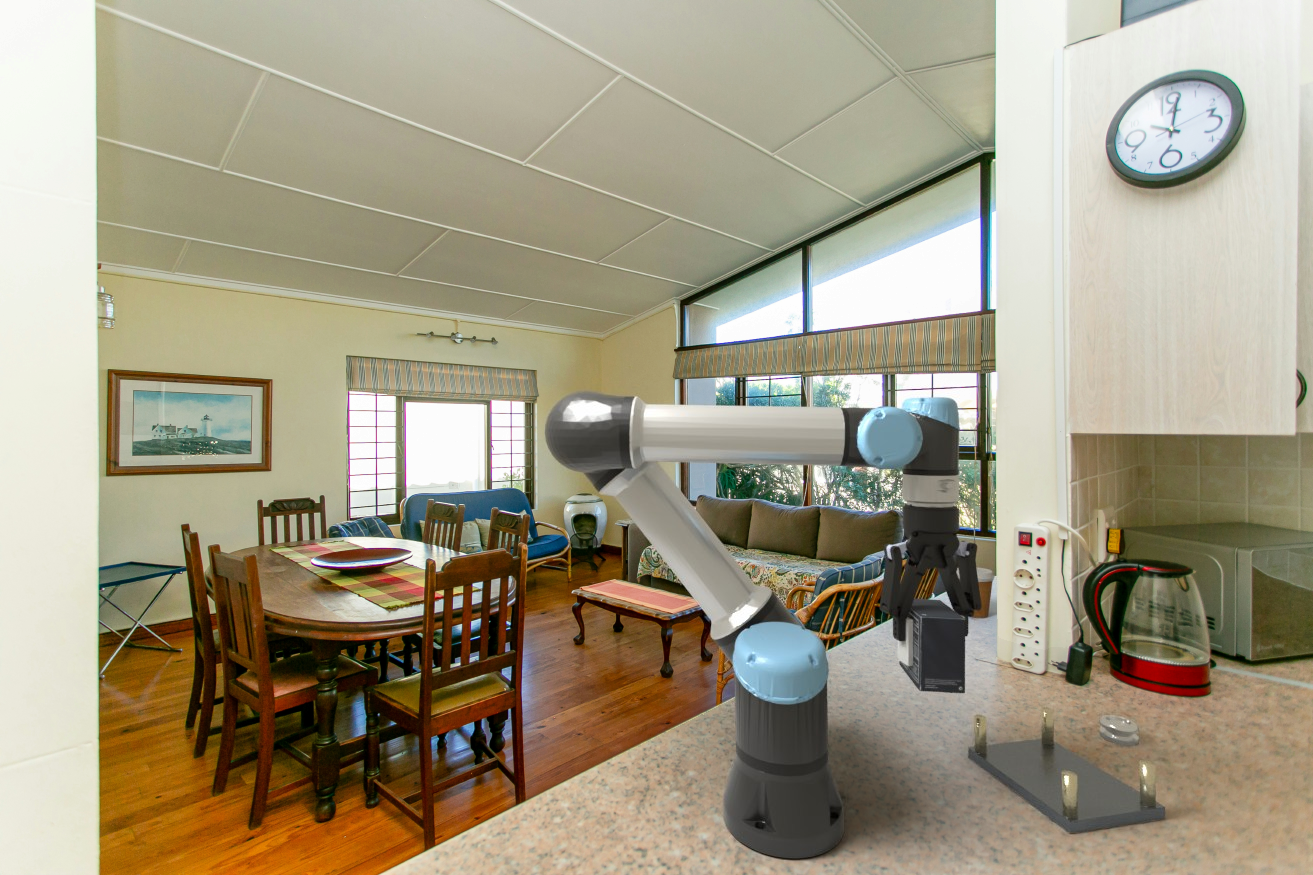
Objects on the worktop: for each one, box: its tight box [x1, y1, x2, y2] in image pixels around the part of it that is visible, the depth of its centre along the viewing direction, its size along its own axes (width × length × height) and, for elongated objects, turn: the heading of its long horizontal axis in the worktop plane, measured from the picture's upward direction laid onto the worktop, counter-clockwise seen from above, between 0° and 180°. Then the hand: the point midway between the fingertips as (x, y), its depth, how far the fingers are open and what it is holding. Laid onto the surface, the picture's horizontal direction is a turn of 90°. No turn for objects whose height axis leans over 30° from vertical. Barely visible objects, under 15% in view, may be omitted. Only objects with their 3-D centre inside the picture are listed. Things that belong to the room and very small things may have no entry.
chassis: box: [967, 706, 1166, 835], centre depth 84 cm, size 14×18×6 cm
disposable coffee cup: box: [956, 566, 996, 619], centre depth 162 cm, size 10×10×12 cm
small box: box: [898, 598, 966, 694], centre depth 88 cm, size 11×6×10 cm, turn 173°
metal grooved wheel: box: [1098, 714, 1140, 748], centre depth 96 cm, size 5×3×5 cm
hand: (930, 660), depth 88 cm, fingers closed on small box, 7 cm apart
